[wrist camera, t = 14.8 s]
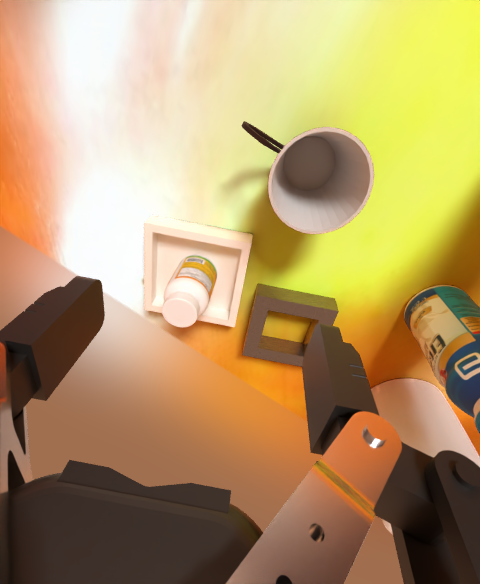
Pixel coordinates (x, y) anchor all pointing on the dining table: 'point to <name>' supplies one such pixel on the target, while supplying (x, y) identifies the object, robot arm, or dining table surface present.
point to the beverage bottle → (450, 342)
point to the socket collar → (288, 303)
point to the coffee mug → (318, 178)
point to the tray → (203, 241)
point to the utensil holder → (422, 418)
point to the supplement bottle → (189, 290)
